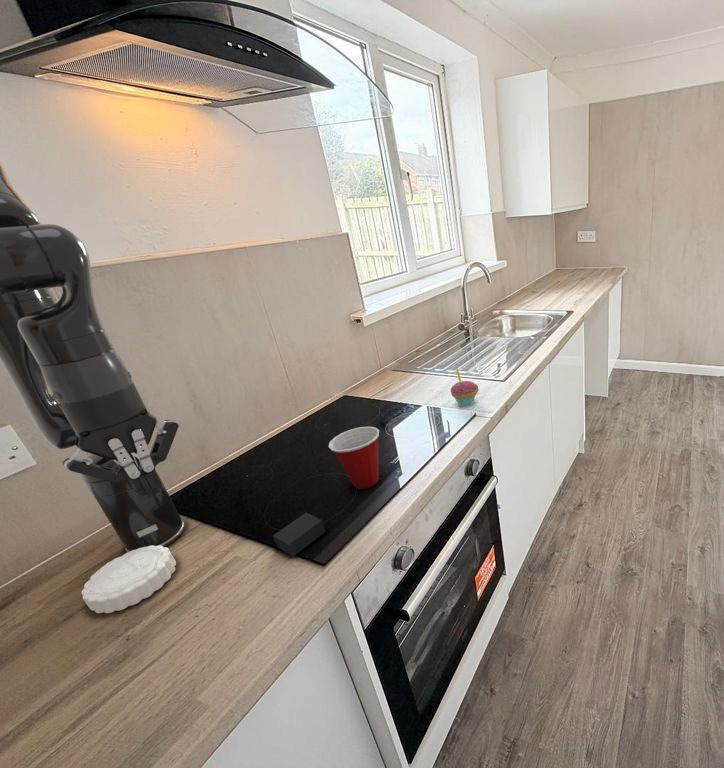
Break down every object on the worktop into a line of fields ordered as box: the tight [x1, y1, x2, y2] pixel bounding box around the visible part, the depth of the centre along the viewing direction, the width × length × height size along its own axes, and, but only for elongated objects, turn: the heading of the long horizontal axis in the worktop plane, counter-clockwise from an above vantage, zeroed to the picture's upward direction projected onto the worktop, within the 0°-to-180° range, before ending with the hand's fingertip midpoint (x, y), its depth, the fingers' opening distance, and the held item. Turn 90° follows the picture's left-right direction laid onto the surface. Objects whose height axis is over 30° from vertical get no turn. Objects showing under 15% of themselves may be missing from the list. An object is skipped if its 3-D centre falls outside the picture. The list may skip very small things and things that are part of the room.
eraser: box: [272, 512, 327, 557], centre depth 79 cm, size 5×7×3 cm
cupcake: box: [450, 366, 480, 407], centre depth 126 cm, size 9×8×12 cm
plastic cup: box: [328, 426, 380, 490], centre depth 93 cm, size 11×11×12 cm
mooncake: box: [81, 545, 177, 614], centre depth 72 cm, size 12×12×4 cm
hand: (151, 493), depth 61 cm, fingers closed
